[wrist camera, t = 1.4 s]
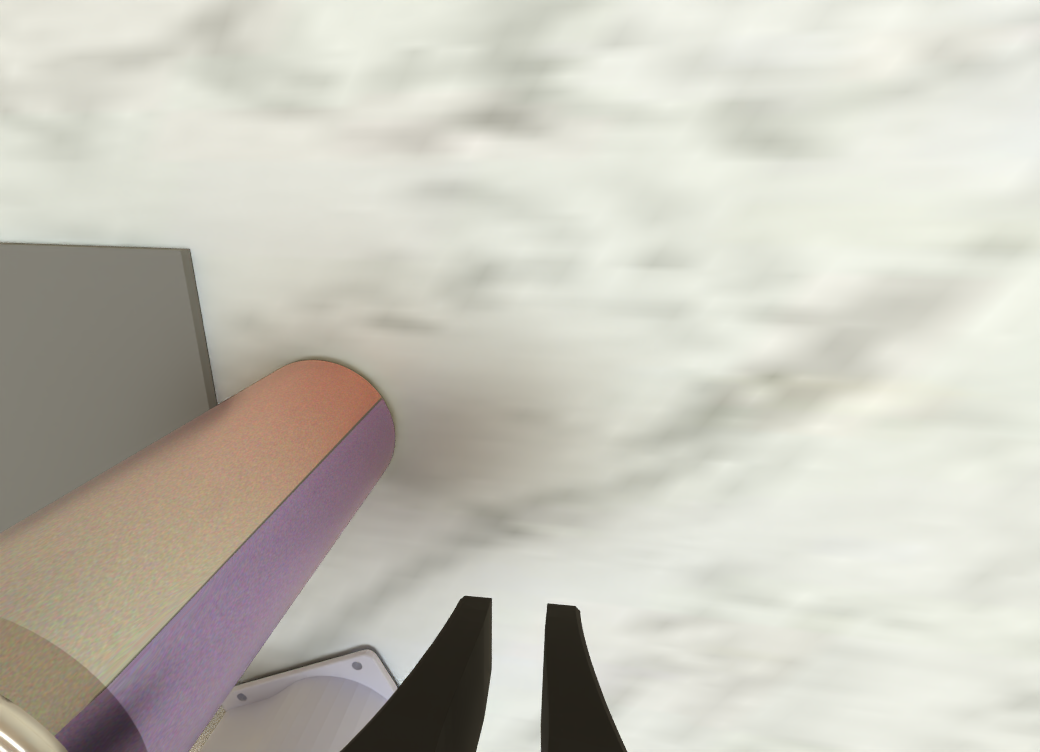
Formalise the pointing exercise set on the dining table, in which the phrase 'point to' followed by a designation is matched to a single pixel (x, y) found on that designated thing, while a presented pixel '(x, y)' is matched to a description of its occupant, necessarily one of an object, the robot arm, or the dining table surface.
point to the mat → (92, 363)
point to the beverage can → (180, 564)
